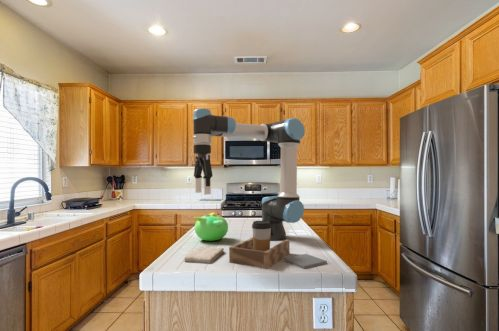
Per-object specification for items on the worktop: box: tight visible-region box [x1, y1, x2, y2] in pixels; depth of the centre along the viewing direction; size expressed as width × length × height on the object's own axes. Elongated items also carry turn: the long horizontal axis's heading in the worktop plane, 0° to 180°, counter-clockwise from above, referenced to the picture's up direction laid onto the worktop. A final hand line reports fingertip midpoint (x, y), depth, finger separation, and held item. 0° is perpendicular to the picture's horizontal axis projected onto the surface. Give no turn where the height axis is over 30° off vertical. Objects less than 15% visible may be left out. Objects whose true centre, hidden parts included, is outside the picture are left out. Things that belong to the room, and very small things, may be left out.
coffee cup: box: [251, 220, 271, 251], centre depth 122 cm, size 8×8×15 cm
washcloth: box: [184, 246, 225, 264], centre depth 123 cm, size 12×18×3 cm, turn 168°
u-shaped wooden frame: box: [228, 237, 291, 270], centre depth 121 cm, size 24×17×6 cm
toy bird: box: [193, 212, 229, 242], centre depth 153 cm, size 18×17×15 cm
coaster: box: [283, 253, 328, 269], centre depth 114 cm, size 12×12×1 cm
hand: (202, 193), depth 123 cm, fingers open, 13 cm apart
